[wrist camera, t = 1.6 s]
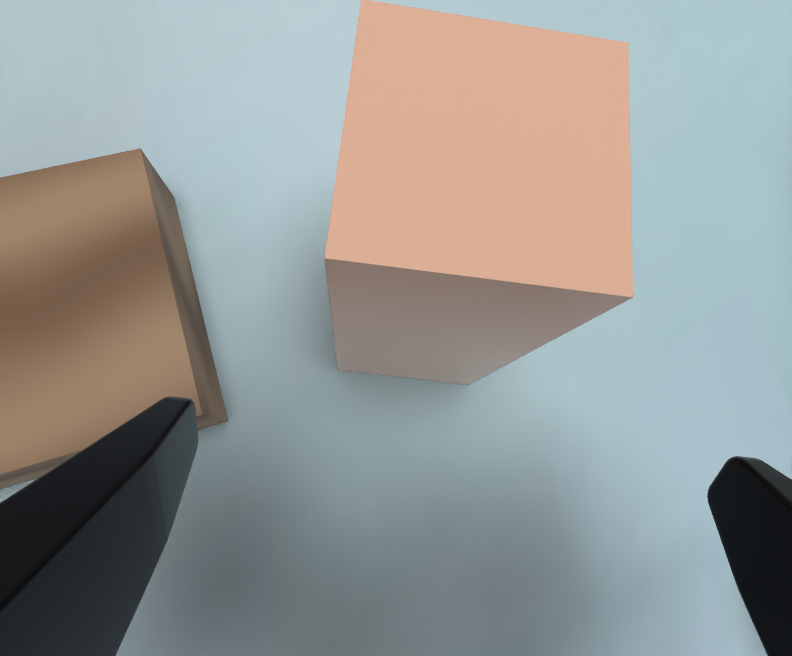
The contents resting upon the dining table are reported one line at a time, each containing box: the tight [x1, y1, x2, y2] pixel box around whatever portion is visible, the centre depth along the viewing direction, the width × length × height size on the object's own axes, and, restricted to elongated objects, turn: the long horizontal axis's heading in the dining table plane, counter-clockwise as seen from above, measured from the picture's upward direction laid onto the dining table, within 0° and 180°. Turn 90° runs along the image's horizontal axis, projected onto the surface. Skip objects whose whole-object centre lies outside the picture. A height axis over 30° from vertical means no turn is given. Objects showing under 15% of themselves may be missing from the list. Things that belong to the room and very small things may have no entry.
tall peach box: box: [325, 0, 633, 385], centre depth 15 cm, size 6×6×12 cm
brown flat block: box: [0, 149, 228, 489], centre depth 18 cm, size 10×10×4 cm
